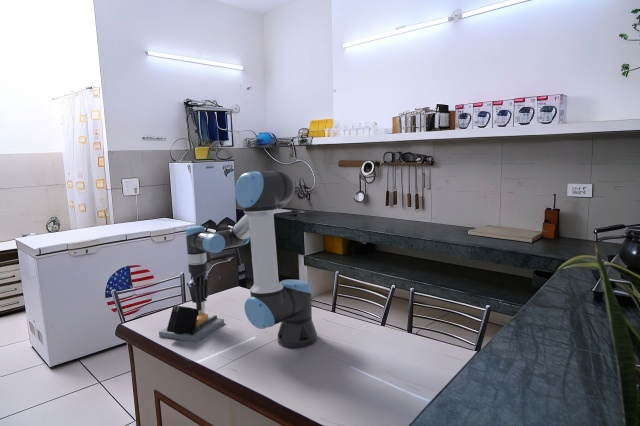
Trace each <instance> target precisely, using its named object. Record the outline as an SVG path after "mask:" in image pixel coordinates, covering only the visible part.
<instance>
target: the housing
mask: <svg viewBox="0 0 640 426" xmlns="http://www.w3.org/2000/svg"><path fill="white" fill-rule="evenodd" d="M224 324H225V319H224V318H219V317H218V316H217V315H216V314H214V315H212V316H208V320H206V321H205V322H203V323H201V324H200V325H199V327H197V326H195V328H194V332H193V334H180V333H173V332H170V331H167V327H168V326H166V327H165V328H162V329H161V330H159V331H158V337H161V338H168V339H173V340H181V341H187V342H197V343H198V342H199V341H201V340H202V339H203V338H205V337H207V336H208V335H209V334H210V333H212V332H213V331H215V330H217V329H218V328H219V327H221V326H223V325H224Z"/></svg>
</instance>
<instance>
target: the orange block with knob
mask: <svg viewBox="0 0 640 426" xmlns="http://www.w3.org/2000/svg"><path fill="white" fill-rule="evenodd" d="M208 317H209V313H205V314H203V313H198V316H197V320H196V324H195V326H197V327H199V325H200V324H201V323H203V322H205V321H206V320H208Z"/></svg>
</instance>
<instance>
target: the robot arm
mask: <svg viewBox="0 0 640 426" xmlns="http://www.w3.org/2000/svg"><path fill="white" fill-rule="evenodd" d="M295 189H296V188H295V182H294V180H293V178H292V177H291V176H290V175H289V174H288V173H286V172H285V171H283V170H269V171H268V170H264V171H262V170H261V171H259V170H257V171H256V170H254V171H249V172H245V173H243V174H241V175H240V176H239V177H238V180H236V183H235V186H234V197H235V200H236V201H237V204H238V205H239V206H240V208H241V207H242V208H243V213H244V215H243V216H242V217H241V218H240V219H239V220H238V222H237V223H235V225H233V227H231V229H226V230H224V229H223V230H220V231H215V232H206V229H205V227H204V226H202V225H192V226H191V225H190V226H188V227H186V229H185V242H186V251H187V263H188V264H187V268H188V273H189V274H190V281H188V282H187V283H186V286H187V287H188V291H189V294H190V298H191V301H192V303H193V304H195V307H196V308H195V309H198V310H199V312H198V313H203V314H206V310H205V302H207V299H208V294H209V283H210V277H211V275H208V274H207V271H208V263H207V252H208V253H211V254H217V253H220V252H222V251H223V250H226V249H230V248H235V247H242V246H244V245H246V244H247V245H248V244H249V242H250V249H251V250H250V251H251V262H252V263H251V264H252V272H253V273H252V274H253V275H252V276H253V285H252V286H251V288H249V289H250V290H249V291H250V296H249V297H248V298H246V300H245V302H244V306H243V307H244V313H245V316H246V318H247V319H248V321H249V322H250V324H251V325H252V326H254V327H255V328H257V329H260V330H264V329H268V328H271V327H274V326H275V325H278V324H279V323H280V326H279V328H278V332H277V337H276V338H277V343H278V345H279V346H281V347H283V348H287V349H303V348H308V347H310V346H312V345H315V343H316V342H317V341H318V332H317V329H316V327H315V324H314V321H313V317H312V316H313V315H312V306H313V305H312V289H311V284H310V282H307V281H306V280H302V279H283V280H281V281H280V280H279V270H278V267H279V266H278V255H277V243H276V230H275V217H274V215H275V213H276V212H277V211H278V209H283V208H284V207H285V206H286V205H287V204H288V203H289V202H290V201H291V200H292V198H293V197H294V195H295V194H294V193H295Z"/></svg>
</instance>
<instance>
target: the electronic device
mask: <svg viewBox="0 0 640 426" xmlns="http://www.w3.org/2000/svg"><path fill="white" fill-rule="evenodd" d="M198 312H199V310H198V309H197V308H194V307H188V306H183V305H182V306H181V305H176V304H175V305H173V307H172V310H171V313H170V315H169V316H170V317H169V320H168V323H167V324H168V325H167V326H166V327H167V331H170V332H173V333H180V334H188V335H194V333H195V332H194V328H195V324H196V320H197V316H198Z"/></svg>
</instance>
